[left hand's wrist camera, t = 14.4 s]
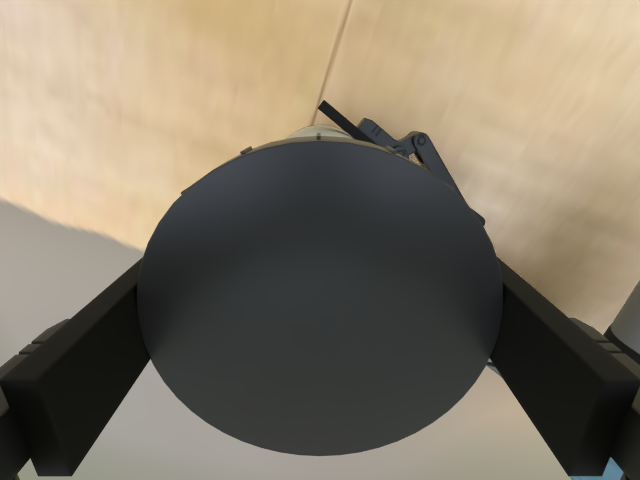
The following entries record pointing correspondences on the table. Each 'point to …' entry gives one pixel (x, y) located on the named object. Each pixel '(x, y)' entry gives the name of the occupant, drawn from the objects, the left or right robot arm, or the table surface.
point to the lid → (319, 296)
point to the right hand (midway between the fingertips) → (280, 159)
